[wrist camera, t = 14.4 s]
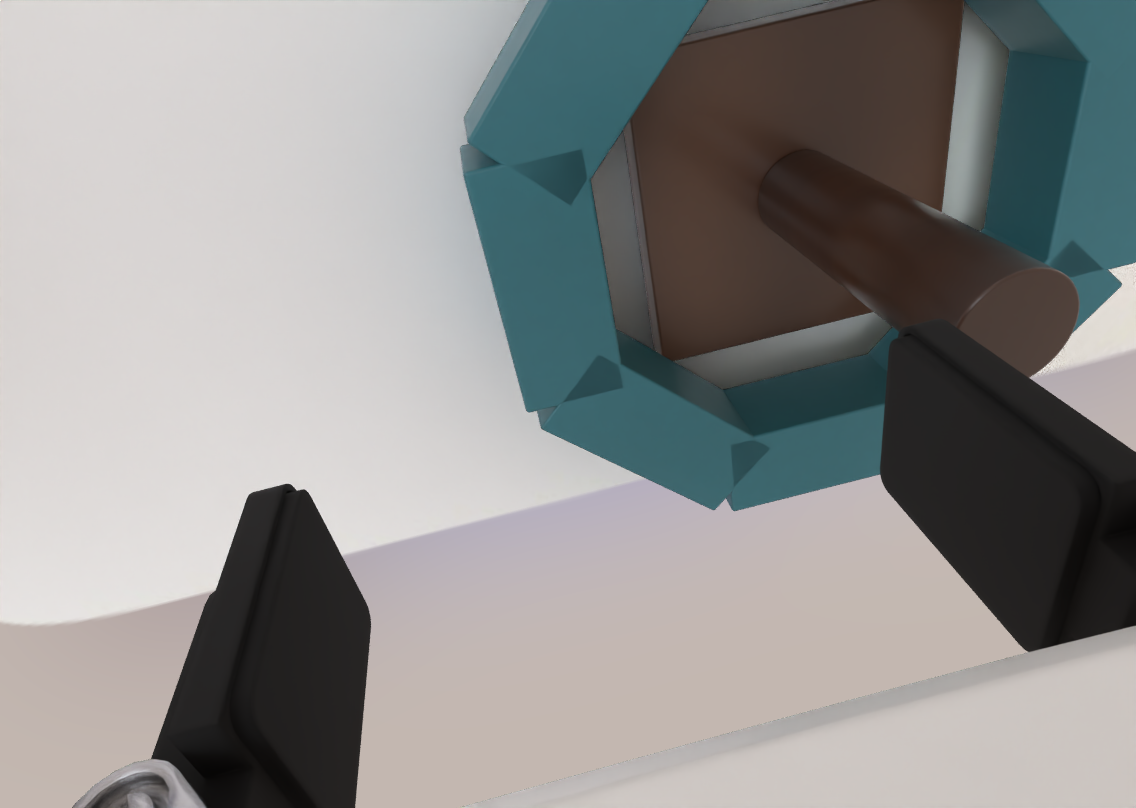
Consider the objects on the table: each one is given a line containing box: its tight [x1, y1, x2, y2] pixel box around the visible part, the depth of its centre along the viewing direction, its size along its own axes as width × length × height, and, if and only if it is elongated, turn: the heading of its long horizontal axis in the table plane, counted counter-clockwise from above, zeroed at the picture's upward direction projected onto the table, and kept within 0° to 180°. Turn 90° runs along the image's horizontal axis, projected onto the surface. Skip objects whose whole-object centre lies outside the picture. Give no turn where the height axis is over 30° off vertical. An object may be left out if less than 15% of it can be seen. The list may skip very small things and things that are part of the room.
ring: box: [460, 0, 1136, 511], centre depth 19 cm, size 18×18×3 cm
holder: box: [623, 0, 1080, 378], centre depth 17 cm, size 9×9×10 cm
